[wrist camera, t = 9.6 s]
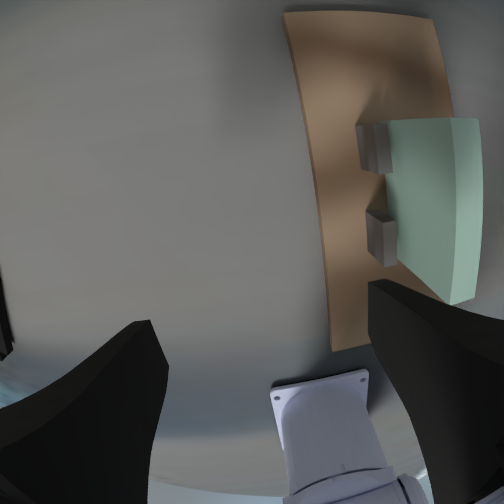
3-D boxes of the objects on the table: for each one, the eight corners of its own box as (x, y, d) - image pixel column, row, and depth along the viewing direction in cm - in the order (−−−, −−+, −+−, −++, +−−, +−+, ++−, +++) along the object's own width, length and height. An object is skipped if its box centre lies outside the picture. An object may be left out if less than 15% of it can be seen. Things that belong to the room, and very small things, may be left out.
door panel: (410, 247, 18) (474, 297, 12) (389, 252, 18) (449, 306, 12) (401, 120, 15) (478, 118, 9) (378, 121, 15) (450, 117, 9)
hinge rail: (444, 314, 21) (466, 337, 18) (330, 345, 21) (341, 376, 18) (426, 22, 13) (453, 8, 10) (281, 17, 14) (289, -7, 11)
